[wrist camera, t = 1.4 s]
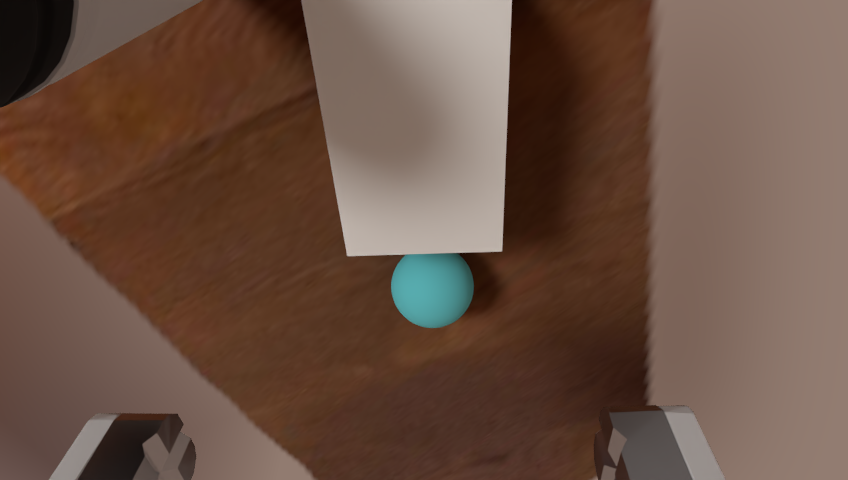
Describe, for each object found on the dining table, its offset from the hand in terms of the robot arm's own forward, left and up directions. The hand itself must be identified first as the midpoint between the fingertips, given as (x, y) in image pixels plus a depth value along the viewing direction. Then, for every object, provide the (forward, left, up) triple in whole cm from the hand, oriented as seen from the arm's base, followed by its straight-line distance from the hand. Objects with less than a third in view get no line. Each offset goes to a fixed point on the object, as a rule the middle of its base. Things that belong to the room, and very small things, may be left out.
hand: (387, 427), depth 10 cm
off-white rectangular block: (0, 0, -20) cm, 20 cm away
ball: (+12, 0, -18) cm, 21 cm away
